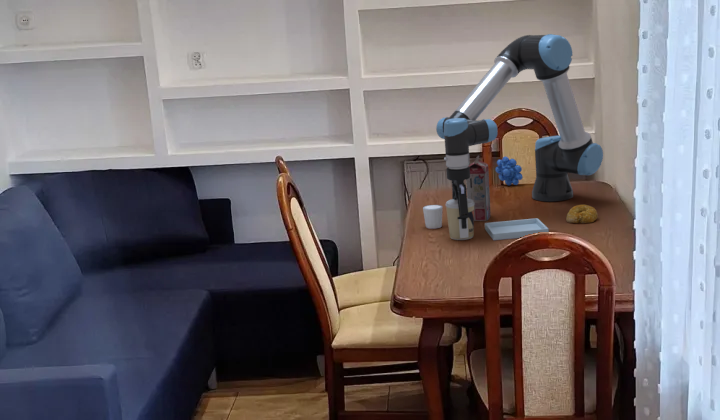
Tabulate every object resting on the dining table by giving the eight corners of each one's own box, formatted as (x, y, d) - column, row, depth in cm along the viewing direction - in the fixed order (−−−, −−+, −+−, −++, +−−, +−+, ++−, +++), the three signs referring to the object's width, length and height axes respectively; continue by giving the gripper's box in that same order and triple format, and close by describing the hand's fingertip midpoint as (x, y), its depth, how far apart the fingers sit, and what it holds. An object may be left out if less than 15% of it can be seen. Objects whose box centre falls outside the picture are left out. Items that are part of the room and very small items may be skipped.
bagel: (559, 220, 289) (558, 207, 288) (585, 215, 293) (584, 201, 292) (577, 226, 280) (577, 212, 279) (604, 220, 284) (604, 207, 283)
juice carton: (490, 216, 301) (487, 155, 296) (487, 220, 295) (484, 159, 290) (472, 215, 304) (469, 155, 298) (468, 220, 297) (465, 159, 292)
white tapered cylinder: (422, 224, 297) (421, 205, 295) (441, 223, 298) (440, 203, 296) (425, 229, 290) (424, 210, 289) (445, 227, 291) (444, 208, 289)
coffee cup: (475, 240, 273) (473, 204, 270) (446, 241, 275) (444, 205, 272) (476, 232, 282) (475, 197, 279) (448, 233, 284) (446, 198, 281)
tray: (537, 224, 286) (537, 218, 285) (548, 235, 272) (548, 228, 272) (484, 229, 285) (484, 223, 285) (493, 240, 272) (493, 234, 271)
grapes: (491, 187, 346) (490, 158, 343) (498, 183, 351) (497, 155, 348) (518, 188, 339) (517, 159, 336) (525, 184, 345) (524, 155, 342)
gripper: (441, 161, 284) (445, 226, 289) (451, 174, 262) (455, 243, 268) (463, 159, 284) (466, 224, 289) (475, 172, 262) (479, 241, 268)
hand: (461, 233), depth 278 cm, fingers open, 9 cm apart
